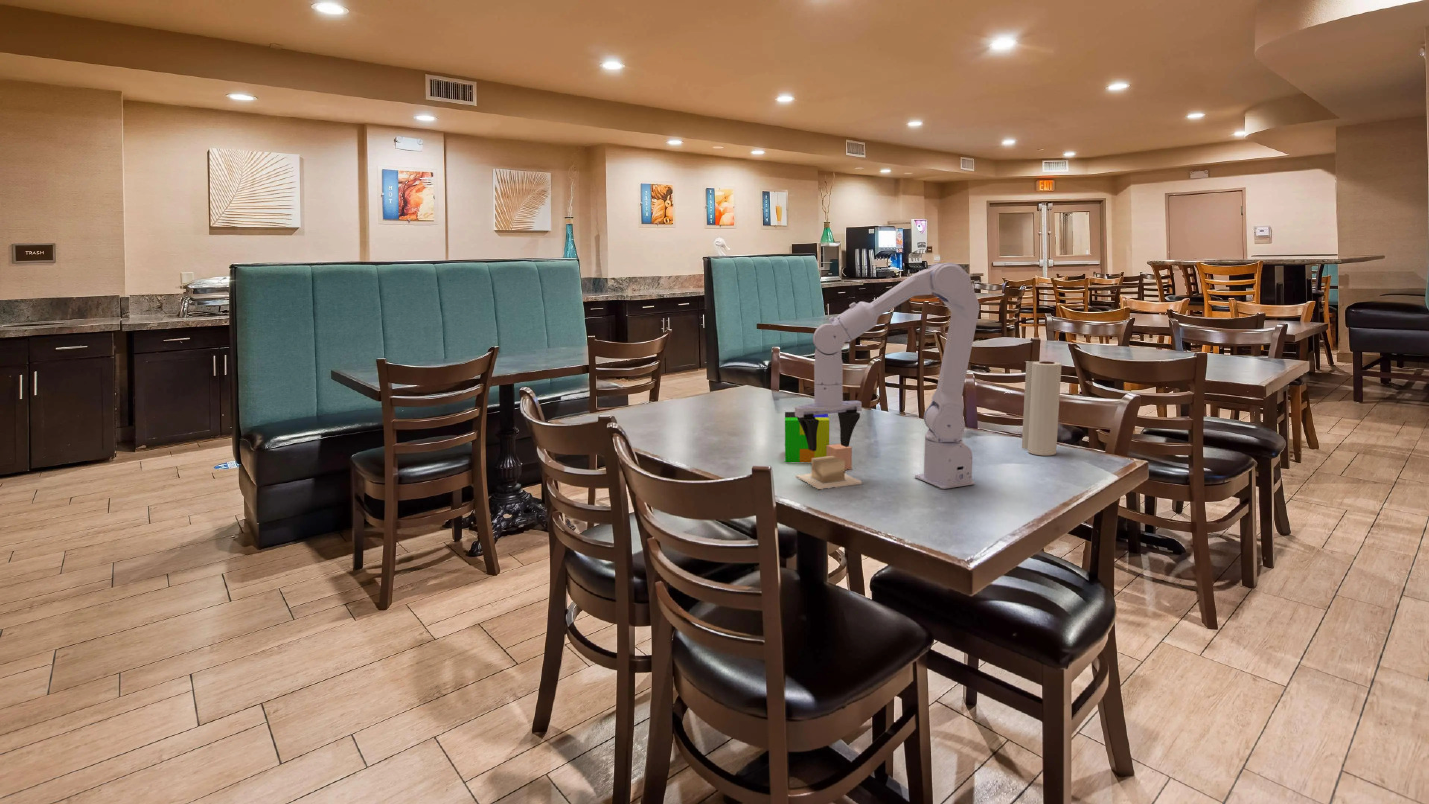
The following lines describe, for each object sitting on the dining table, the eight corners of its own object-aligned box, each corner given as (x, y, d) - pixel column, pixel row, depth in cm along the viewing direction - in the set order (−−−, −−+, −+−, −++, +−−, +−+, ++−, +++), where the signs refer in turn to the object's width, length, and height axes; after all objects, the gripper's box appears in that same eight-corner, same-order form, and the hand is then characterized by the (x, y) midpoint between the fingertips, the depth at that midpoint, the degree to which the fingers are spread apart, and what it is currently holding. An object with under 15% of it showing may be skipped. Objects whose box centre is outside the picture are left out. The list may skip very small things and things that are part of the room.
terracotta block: (851, 469, 161) (851, 447, 160) (835, 471, 159) (835, 449, 159) (842, 465, 165) (842, 443, 164) (826, 467, 163) (826, 445, 162)
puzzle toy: (826, 452, 176) (827, 411, 175) (829, 463, 167) (829, 420, 165) (785, 452, 177) (784, 412, 176) (785, 463, 168) (784, 420, 166)
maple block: (844, 479, 151) (844, 461, 151) (823, 482, 150) (823, 463, 149) (832, 473, 156) (832, 455, 155) (811, 476, 154) (811, 458, 153)
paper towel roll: (1060, 456, 168) (1066, 363, 164) (1034, 456, 168) (1039, 364, 164) (1047, 448, 175) (1052, 359, 171) (1021, 449, 175) (1026, 360, 171)
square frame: (861, 483, 150) (861, 481, 150) (818, 489, 146) (818, 487, 146) (836, 471, 159) (836, 469, 159) (795, 477, 156) (795, 475, 155)
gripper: (849, 377, 155) (849, 440, 158) (787, 383, 150) (788, 447, 153) (867, 382, 149) (866, 447, 151) (803, 388, 144) (804, 455, 146)
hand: (828, 447), depth 151 cm, fingers open, 7 cm apart
